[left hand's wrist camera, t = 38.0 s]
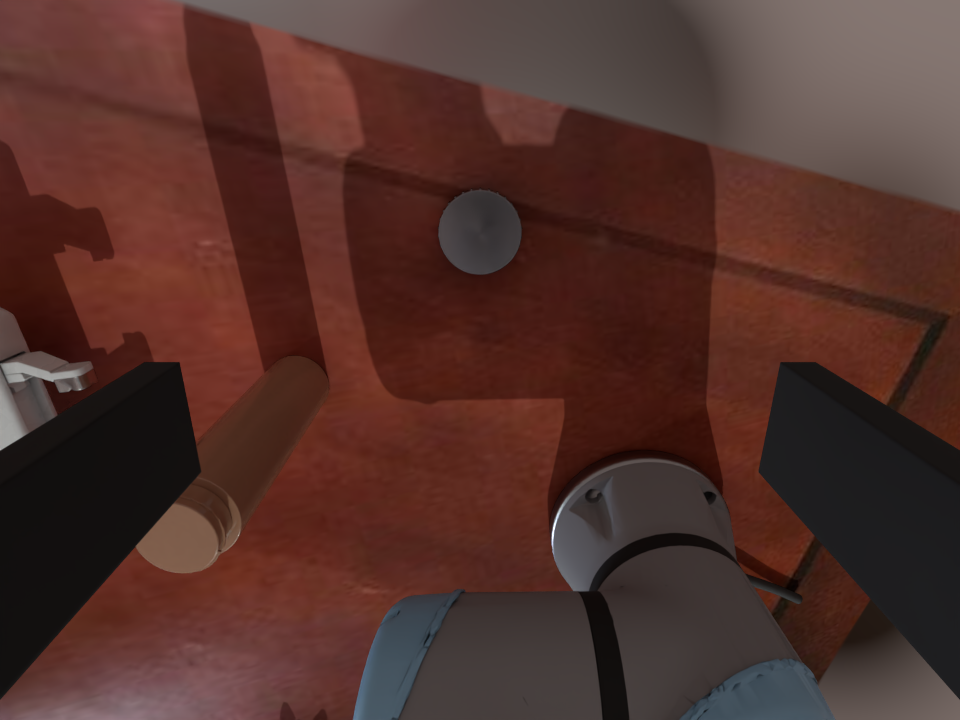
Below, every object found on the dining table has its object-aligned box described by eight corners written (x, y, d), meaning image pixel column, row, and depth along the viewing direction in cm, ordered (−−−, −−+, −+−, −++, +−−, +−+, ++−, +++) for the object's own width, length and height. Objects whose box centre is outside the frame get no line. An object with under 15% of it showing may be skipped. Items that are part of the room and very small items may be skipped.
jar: (256, 393, 45) (107, 553, 27) (282, 344, 43) (142, 477, 25) (312, 422, 46) (204, 595, 28) (339, 374, 44) (243, 524, 26)
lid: (534, 209, 40) (537, 211, 38) (499, 283, 42) (500, 289, 40) (459, 173, 39) (458, 173, 37) (426, 250, 41) (424, 254, 39)
